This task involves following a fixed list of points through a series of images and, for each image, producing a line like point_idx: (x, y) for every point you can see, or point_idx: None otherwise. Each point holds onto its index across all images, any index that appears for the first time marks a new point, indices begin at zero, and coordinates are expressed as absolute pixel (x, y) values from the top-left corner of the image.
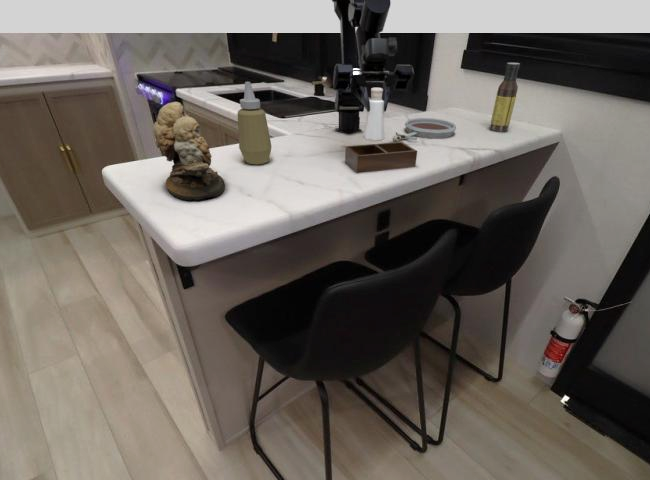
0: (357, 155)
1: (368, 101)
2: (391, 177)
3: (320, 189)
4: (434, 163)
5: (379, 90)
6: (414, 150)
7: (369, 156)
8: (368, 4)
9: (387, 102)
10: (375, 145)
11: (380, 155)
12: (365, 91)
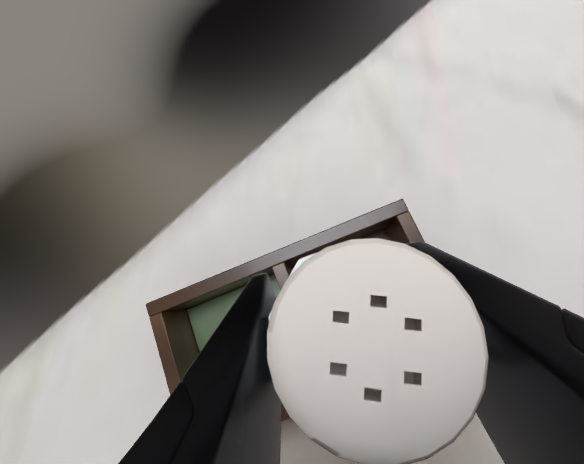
0: (404, 209)
1: None
2: (272, 189)
3: (491, 67)
4: (100, 349)
5: (329, 247)
6: (156, 308)
7: (352, 220)
8: None
9: (232, 310)
10: None
11: (306, 239)
12: (564, 343)
